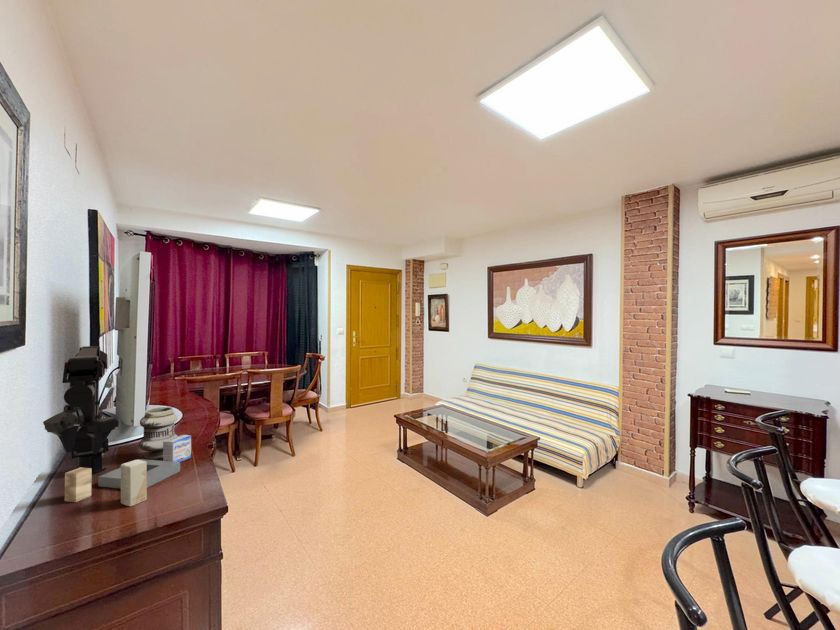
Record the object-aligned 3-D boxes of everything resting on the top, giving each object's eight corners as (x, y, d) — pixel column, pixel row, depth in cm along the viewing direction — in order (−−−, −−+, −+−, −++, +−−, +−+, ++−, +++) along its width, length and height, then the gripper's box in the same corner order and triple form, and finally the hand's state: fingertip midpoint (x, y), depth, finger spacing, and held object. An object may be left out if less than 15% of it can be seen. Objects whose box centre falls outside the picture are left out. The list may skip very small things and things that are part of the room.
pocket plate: (98, 486, 110) (98, 476, 110) (140, 467, 123) (140, 459, 124) (141, 490, 107) (141, 480, 107) (180, 471, 121) (180, 462, 121)
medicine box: (172, 466, 125) (173, 442, 125) (162, 465, 126) (162, 441, 126) (191, 457, 132) (191, 434, 133) (181, 457, 133) (181, 434, 133)
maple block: (64, 501, 101) (65, 473, 101) (80, 494, 105) (80, 467, 105) (75, 502, 100) (76, 474, 100) (91, 495, 104) (91, 468, 104)
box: (147, 500, 101) (147, 461, 101) (129, 507, 97) (130, 467, 98) (137, 496, 103) (137, 458, 104) (119, 503, 100) (120, 464, 100)
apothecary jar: (138, 465, 125) (139, 415, 126) (138, 455, 135) (139, 408, 135) (179, 457, 133) (180, 409, 133) (176, 448, 142) (177, 404, 143)
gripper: (21, 405, 97) (20, 462, 96) (80, 407, 94) (79, 465, 94) (67, 396, 108) (66, 447, 107) (120, 398, 105) (120, 450, 105)
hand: (82, 452), depth 103 cm, fingers open, 9 cm apart
